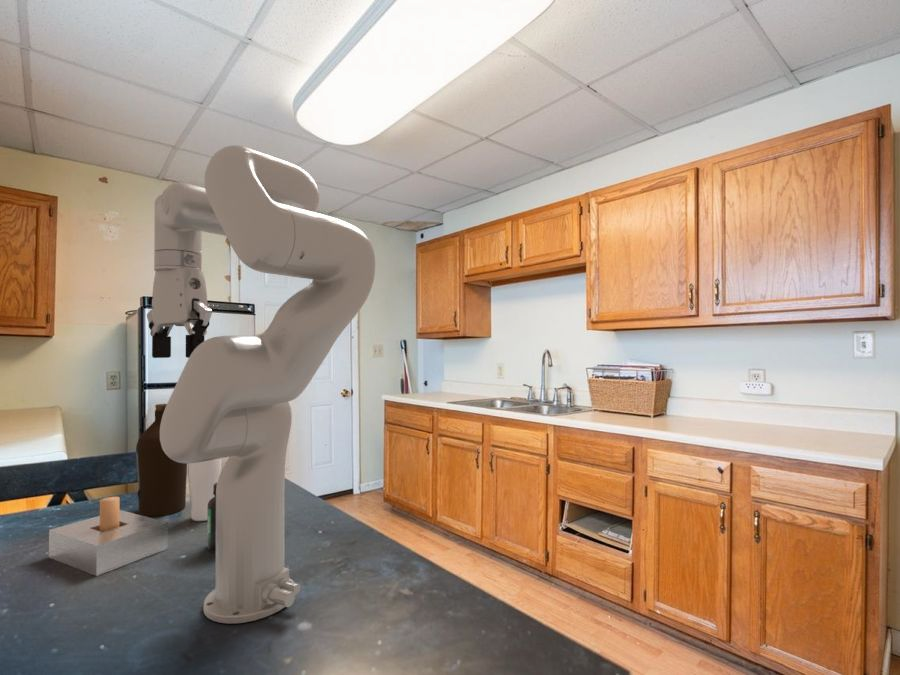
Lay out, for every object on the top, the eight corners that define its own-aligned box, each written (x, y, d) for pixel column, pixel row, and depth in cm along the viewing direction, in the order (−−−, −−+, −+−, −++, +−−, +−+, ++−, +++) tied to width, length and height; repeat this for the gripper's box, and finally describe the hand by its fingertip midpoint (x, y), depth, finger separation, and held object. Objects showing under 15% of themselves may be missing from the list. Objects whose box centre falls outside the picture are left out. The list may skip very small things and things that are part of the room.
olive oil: (194, 501, 118) (195, 401, 118) (178, 516, 107) (178, 406, 108) (148, 504, 116) (148, 402, 116) (126, 519, 105) (127, 407, 106)
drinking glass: (227, 516, 107) (227, 449, 107) (198, 525, 101) (198, 455, 102) (210, 510, 111) (210, 446, 111) (181, 519, 105) (181, 452, 105)
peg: (122, 551, 88) (123, 498, 89) (104, 558, 86) (105, 502, 86) (113, 548, 90) (114, 495, 90) (95, 555, 87) (96, 500, 87)
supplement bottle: (202, 555, 87) (202, 489, 87) (213, 540, 93) (213, 479, 94) (242, 551, 88) (242, 486, 88) (249, 537, 95) (249, 477, 95)
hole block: (167, 548, 89) (167, 522, 90) (96, 576, 79) (96, 545, 79) (119, 534, 97) (119, 509, 97) (48, 557, 86) (49, 530, 86)
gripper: (228, 263, 86) (227, 357, 85) (169, 271, 94) (169, 357, 93) (188, 255, 79) (188, 357, 79) (129, 265, 87) (128, 358, 87)
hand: (177, 357), depth 86 cm, fingers open, 9 cm apart
